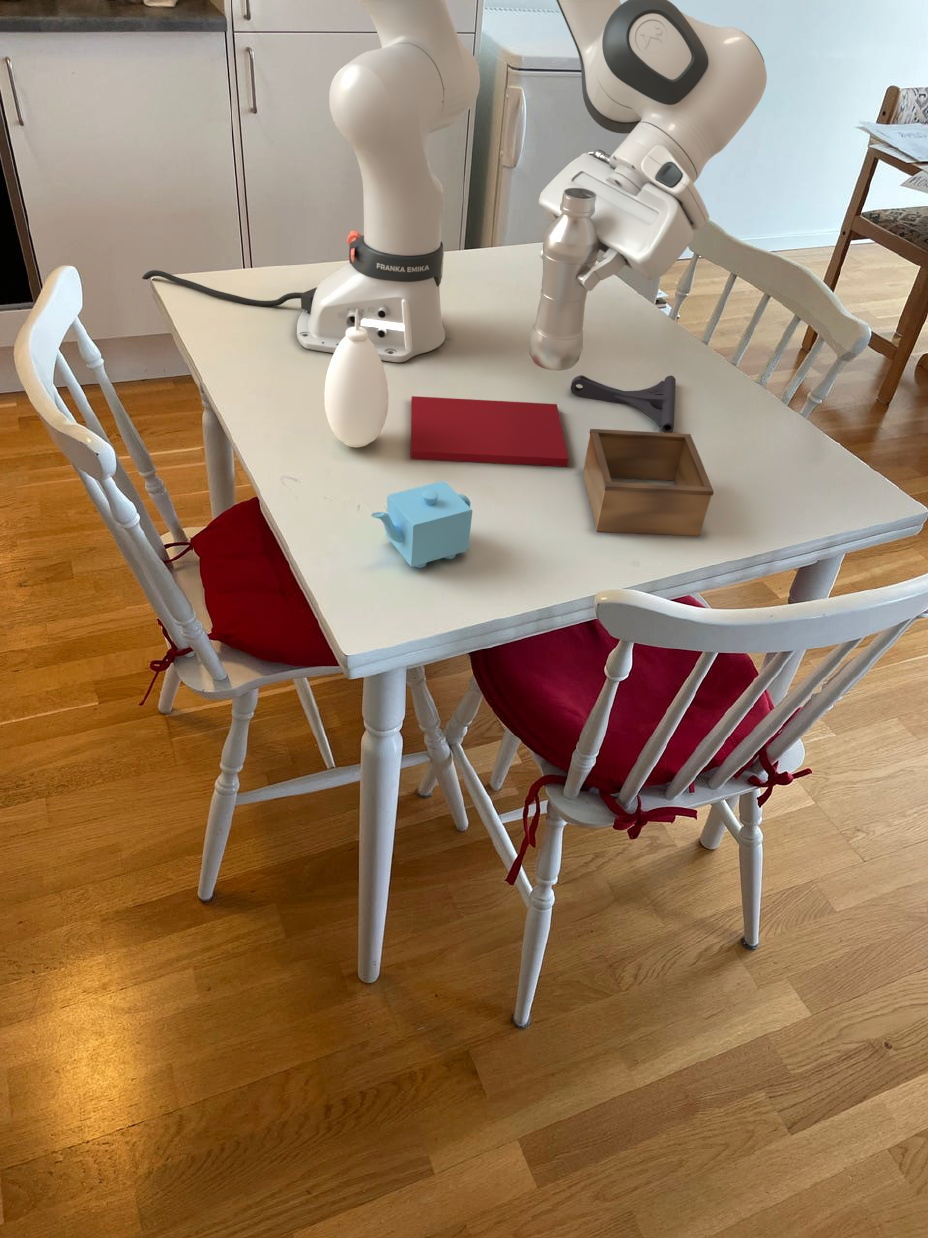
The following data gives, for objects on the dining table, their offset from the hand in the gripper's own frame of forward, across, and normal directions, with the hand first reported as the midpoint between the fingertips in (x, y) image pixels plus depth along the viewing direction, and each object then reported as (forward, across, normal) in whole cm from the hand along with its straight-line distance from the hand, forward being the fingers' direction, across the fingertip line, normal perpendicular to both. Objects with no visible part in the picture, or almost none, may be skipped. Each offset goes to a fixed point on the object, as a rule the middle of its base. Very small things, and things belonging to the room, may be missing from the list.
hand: (563, 273), depth 108 cm
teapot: (+34, +11, 0) cm, 36 cm away
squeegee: (+3, -6, +31) cm, 32 cm away
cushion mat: (+19, -7, +15) cm, 25 cm away
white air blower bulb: (+31, -12, +3) cm, 33 cm away
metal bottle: (+8, 0, +9) cm, 12 cm away
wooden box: (+13, +15, +21) cm, 28 cm away
